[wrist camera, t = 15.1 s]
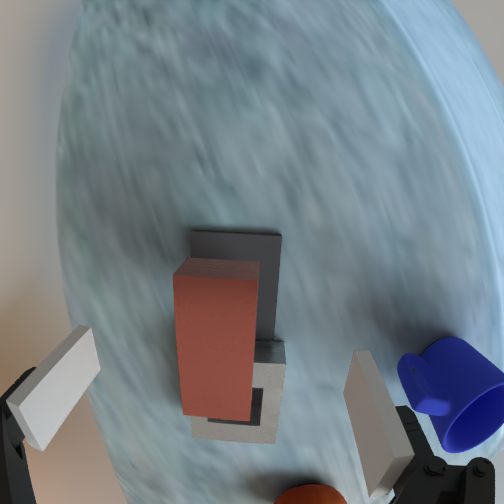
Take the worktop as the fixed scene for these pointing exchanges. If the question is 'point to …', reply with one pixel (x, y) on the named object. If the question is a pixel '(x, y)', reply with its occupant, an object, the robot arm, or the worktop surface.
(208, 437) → the block
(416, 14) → the worktop surface
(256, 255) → the mat
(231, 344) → the key
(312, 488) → the fruit
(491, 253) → the worktop surface
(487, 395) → the mug
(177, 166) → the worktop surface
